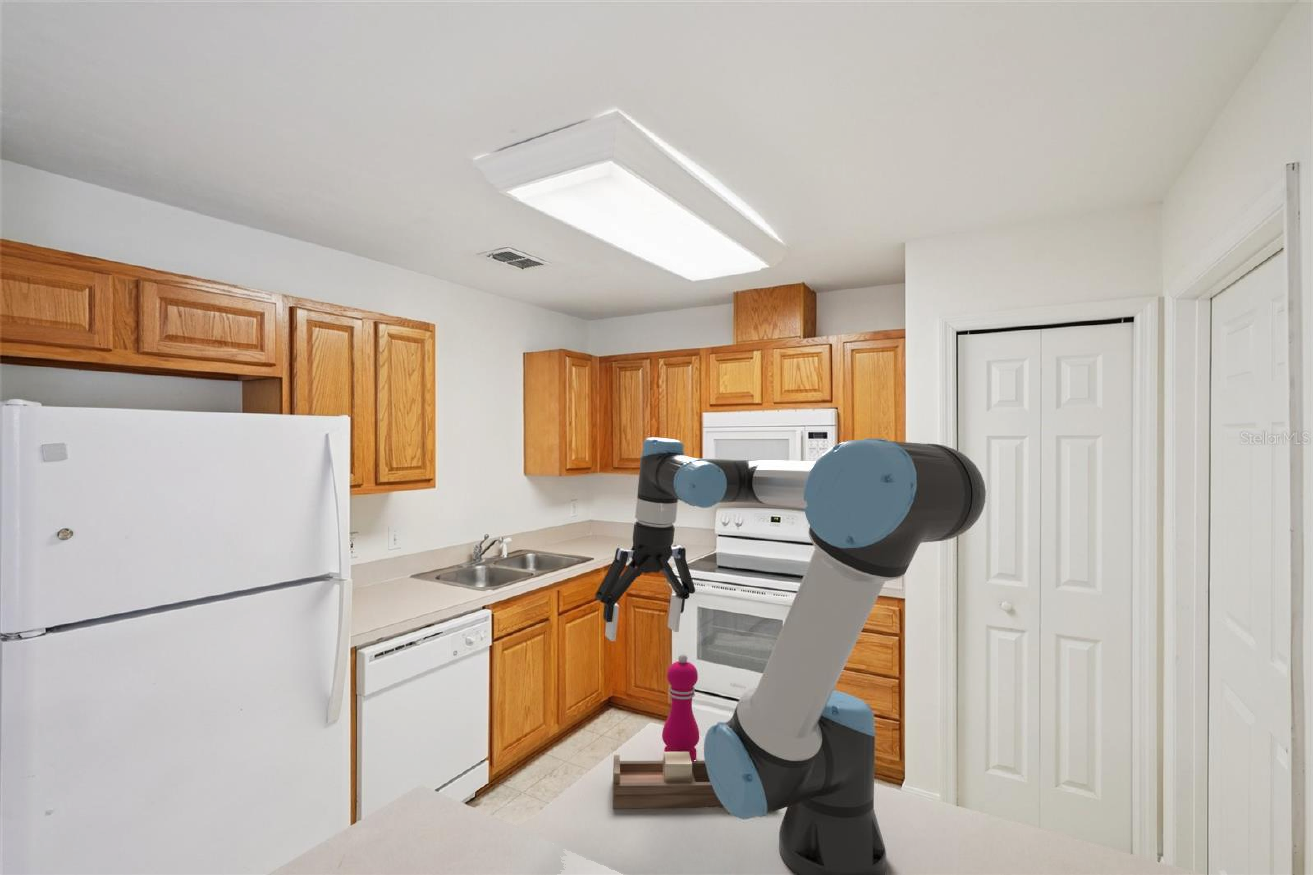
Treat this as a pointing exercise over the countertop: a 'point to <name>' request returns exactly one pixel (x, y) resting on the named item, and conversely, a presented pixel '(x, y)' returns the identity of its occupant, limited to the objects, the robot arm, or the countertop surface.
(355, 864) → the countertop surface
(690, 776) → the birch block
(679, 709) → the pepper mill
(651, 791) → the channel
